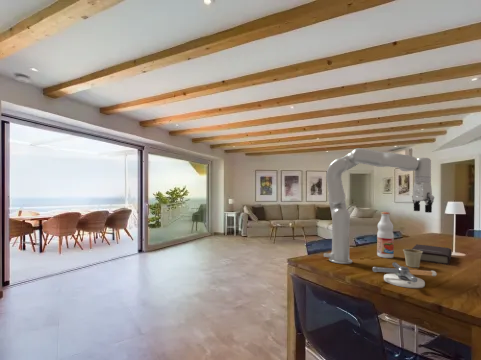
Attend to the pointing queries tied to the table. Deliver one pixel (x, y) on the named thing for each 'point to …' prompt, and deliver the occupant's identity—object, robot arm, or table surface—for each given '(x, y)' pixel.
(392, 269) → the capstan
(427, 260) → the book
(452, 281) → the table surface
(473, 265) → the table surface
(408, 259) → the flower pot
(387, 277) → the stand
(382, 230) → the fruit juice
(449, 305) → the table surface
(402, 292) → the table surface
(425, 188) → the robot arm
